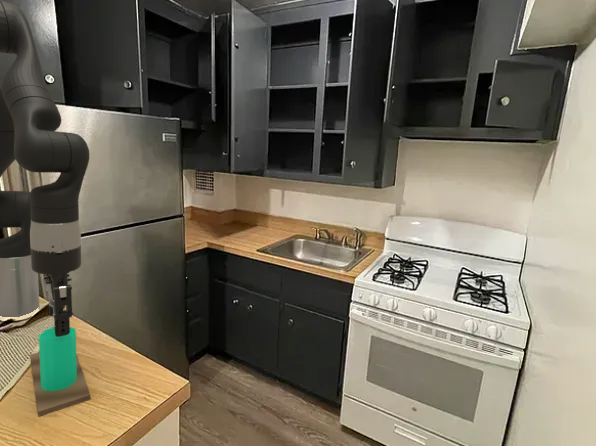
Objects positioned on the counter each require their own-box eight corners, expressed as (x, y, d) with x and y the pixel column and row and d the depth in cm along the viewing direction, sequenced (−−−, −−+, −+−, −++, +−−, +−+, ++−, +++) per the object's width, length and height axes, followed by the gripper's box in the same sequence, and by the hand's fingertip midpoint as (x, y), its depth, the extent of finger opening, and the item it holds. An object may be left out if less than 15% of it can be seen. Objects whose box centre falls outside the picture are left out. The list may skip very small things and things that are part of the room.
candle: (59, 394, 65) (57, 336, 62) (32, 387, 66) (29, 330, 63) (84, 375, 71) (83, 321, 68) (59, 368, 72) (57, 316, 69)
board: (30, 358, 75) (29, 354, 75) (73, 348, 80) (73, 344, 80) (38, 416, 61) (37, 411, 60) (90, 399, 66) (90, 394, 66)
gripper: (27, 234, 65) (31, 312, 69) (33, 258, 55) (38, 348, 58) (74, 232, 70) (75, 305, 74) (88, 253, 60) (89, 336, 63)
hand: (59, 324), depth 66 cm, fingers open, 8 cm apart
